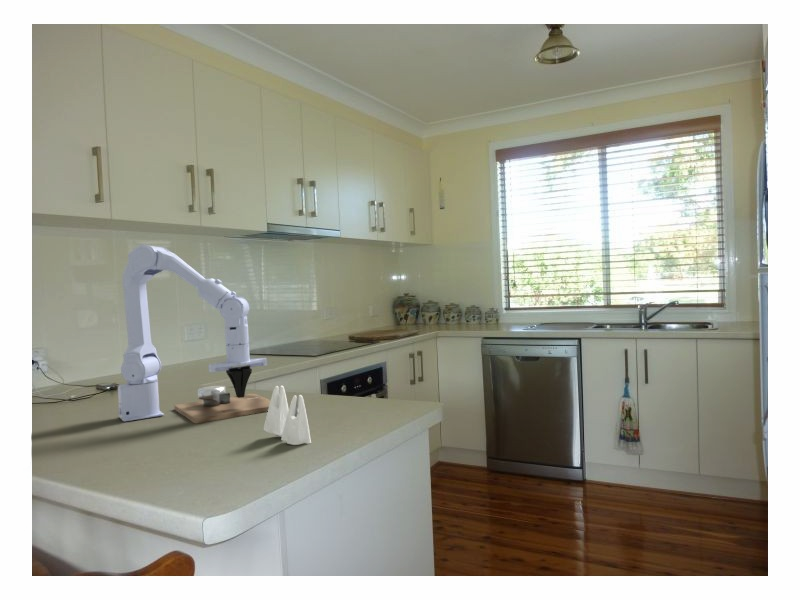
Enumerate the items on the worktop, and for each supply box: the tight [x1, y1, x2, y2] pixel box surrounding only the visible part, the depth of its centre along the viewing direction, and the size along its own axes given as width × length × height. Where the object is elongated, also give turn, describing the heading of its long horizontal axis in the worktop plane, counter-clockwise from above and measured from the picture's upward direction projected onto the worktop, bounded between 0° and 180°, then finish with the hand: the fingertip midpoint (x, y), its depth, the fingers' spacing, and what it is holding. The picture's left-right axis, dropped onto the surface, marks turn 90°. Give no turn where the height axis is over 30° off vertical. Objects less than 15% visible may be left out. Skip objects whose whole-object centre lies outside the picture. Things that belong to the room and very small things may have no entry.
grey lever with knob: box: [197, 385, 231, 404], centre depth 146 cm, size 16×7×2 cm, turn 34°
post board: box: [173, 392, 271, 425], centre depth 149 cm, size 22×22×3 cm
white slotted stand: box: [263, 385, 312, 446], centre depth 115 cm, size 12×4×11 cm, turn 44°
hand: (240, 397), depth 144 cm, fingers closed
